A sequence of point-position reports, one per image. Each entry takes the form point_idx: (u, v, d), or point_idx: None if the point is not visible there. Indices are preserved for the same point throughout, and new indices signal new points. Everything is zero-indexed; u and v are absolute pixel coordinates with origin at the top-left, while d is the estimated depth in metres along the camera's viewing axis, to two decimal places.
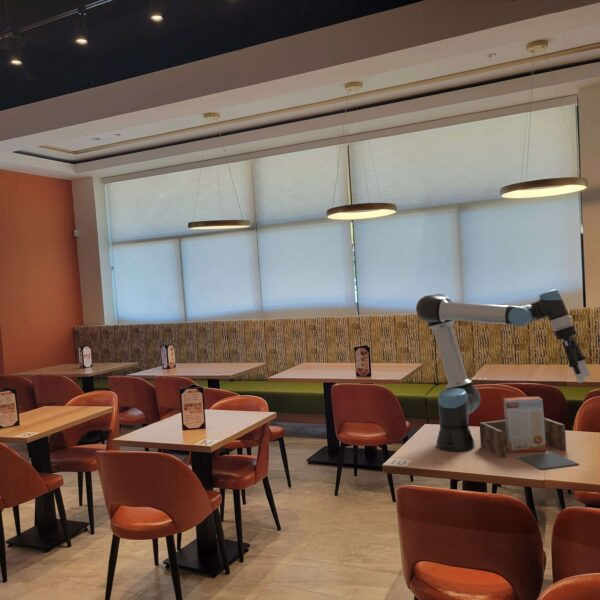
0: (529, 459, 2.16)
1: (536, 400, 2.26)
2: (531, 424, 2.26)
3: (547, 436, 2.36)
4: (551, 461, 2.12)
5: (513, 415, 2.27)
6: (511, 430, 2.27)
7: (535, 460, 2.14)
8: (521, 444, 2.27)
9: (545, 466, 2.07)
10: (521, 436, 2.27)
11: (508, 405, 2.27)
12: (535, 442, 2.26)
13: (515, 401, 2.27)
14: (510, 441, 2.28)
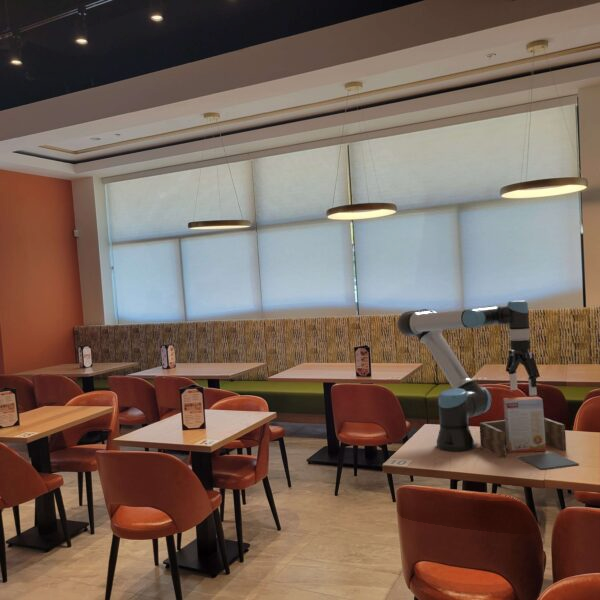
0: (529, 459, 2.16)
1: (536, 400, 2.26)
2: (531, 424, 2.26)
3: (547, 436, 2.36)
4: (551, 461, 2.12)
5: (513, 415, 2.27)
6: (511, 430, 2.27)
7: (535, 460, 2.14)
8: (521, 444, 2.27)
9: (545, 466, 2.07)
10: (521, 436, 2.27)
11: (508, 405, 2.27)
12: (535, 442, 2.26)
13: (515, 401, 2.27)
14: (510, 441, 2.28)
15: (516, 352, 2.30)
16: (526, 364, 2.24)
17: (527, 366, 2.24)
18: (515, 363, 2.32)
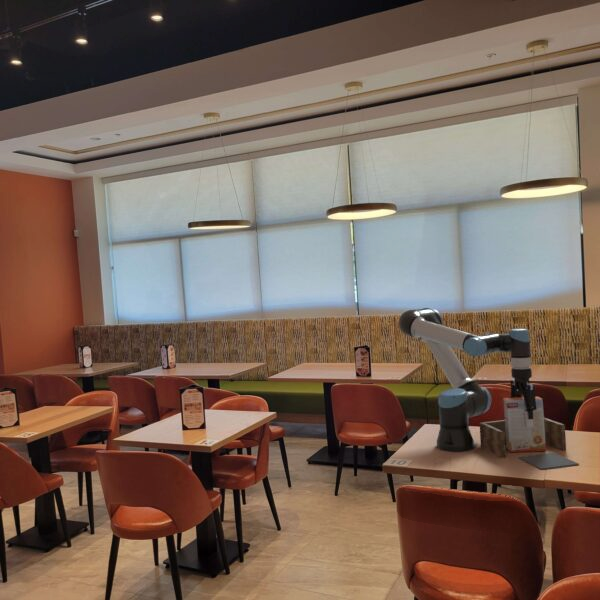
0: (529, 459, 2.16)
1: (536, 400, 2.26)
2: None
3: (547, 436, 2.36)
4: (551, 461, 2.12)
5: (513, 415, 2.27)
6: (511, 430, 2.27)
7: (535, 460, 2.14)
8: (521, 444, 2.27)
9: (545, 466, 2.07)
10: (520, 436, 2.27)
11: (508, 405, 2.27)
12: (535, 442, 2.26)
13: (515, 400, 2.27)
14: (510, 441, 2.28)
15: (517, 379, 2.31)
16: (525, 395, 2.26)
17: (526, 397, 2.26)
18: (518, 393, 2.31)
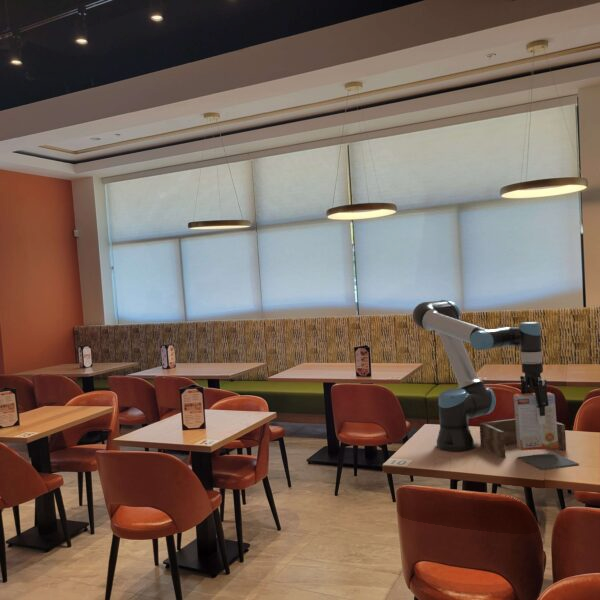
0: (529, 459, 2.16)
1: (548, 396, 2.18)
2: None
3: None
4: (551, 461, 2.12)
5: (524, 411, 2.19)
6: (522, 427, 2.19)
7: (535, 460, 2.14)
8: (533, 442, 2.18)
9: (545, 466, 2.07)
10: (532, 434, 2.18)
11: (519, 401, 2.19)
12: (547, 440, 2.18)
13: (526, 397, 2.18)
14: (521, 439, 2.19)
15: (527, 374, 2.22)
16: (537, 391, 2.17)
17: (537, 393, 2.17)
18: (529, 389, 2.23)
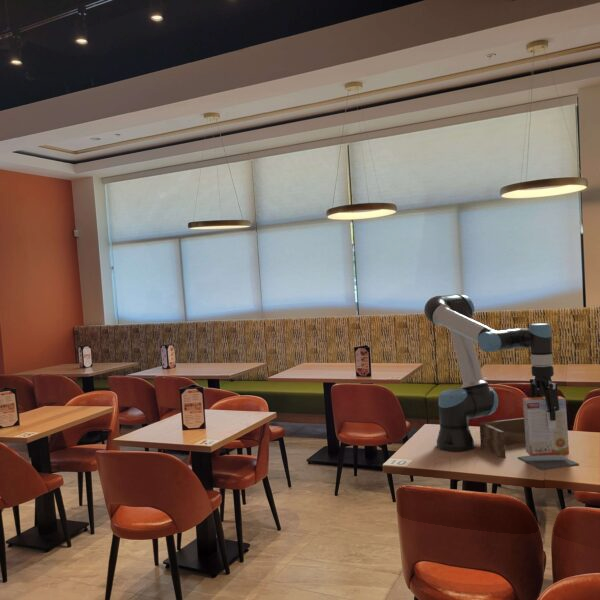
0: (529, 459, 2.16)
1: (559, 400, 2.10)
2: None
3: None
4: (551, 461, 2.12)
5: (534, 416, 2.11)
6: (532, 432, 2.12)
7: (535, 460, 2.14)
8: (543, 448, 2.11)
9: (545, 466, 2.07)
10: (542, 439, 2.11)
11: (528, 405, 2.11)
12: (558, 445, 2.11)
13: (536, 401, 2.11)
14: (530, 444, 2.12)
15: (537, 377, 2.15)
16: (547, 394, 2.10)
17: (548, 397, 2.10)
18: (539, 392, 2.16)
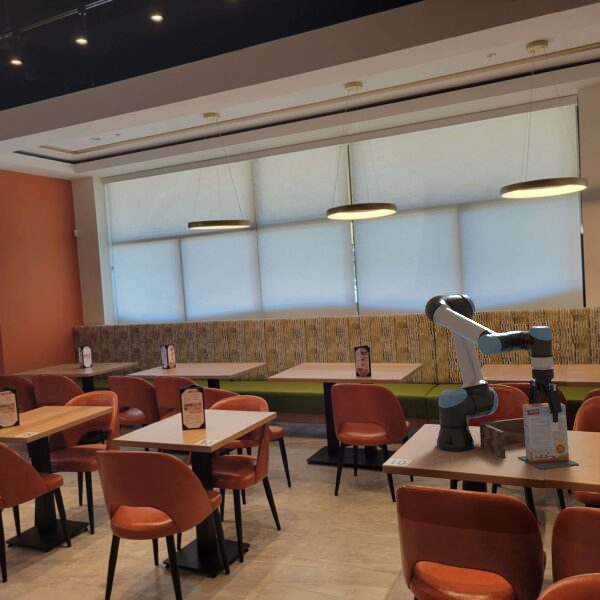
0: None
1: None
2: (553, 432, 2.11)
3: None
4: None
5: (534, 422, 2.11)
6: (532, 438, 2.12)
7: None
8: (543, 454, 2.11)
9: (545, 466, 2.07)
10: (542, 445, 2.11)
11: (529, 412, 2.12)
12: (558, 452, 2.11)
13: (536, 407, 2.11)
14: (531, 451, 2.12)
15: (538, 380, 2.15)
16: (548, 396, 2.09)
17: (549, 399, 2.09)
18: (538, 394, 2.16)
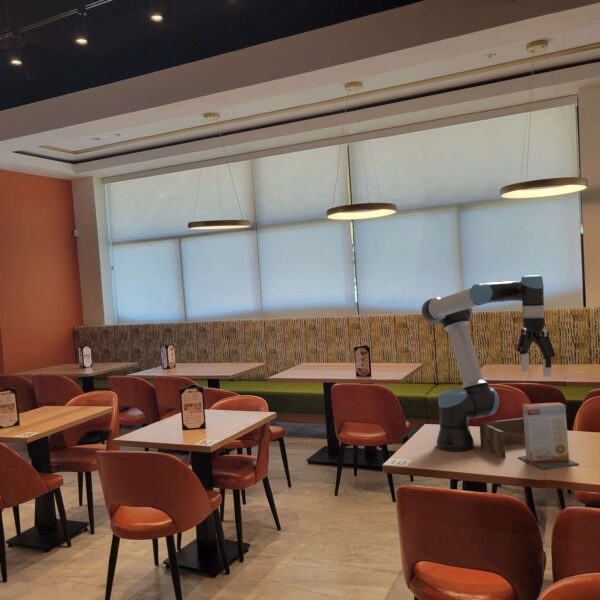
0: None
1: (559, 406, 2.11)
2: (553, 432, 2.11)
3: None
4: None
5: (535, 422, 2.11)
6: (532, 439, 2.12)
7: None
8: (543, 454, 2.11)
9: (545, 466, 2.07)
10: (542, 446, 2.11)
11: (529, 412, 2.11)
12: (558, 452, 2.11)
13: (536, 407, 2.11)
14: (531, 451, 2.12)
15: (529, 330, 2.15)
16: (540, 343, 2.09)
17: (541, 345, 2.09)
18: (527, 342, 2.17)
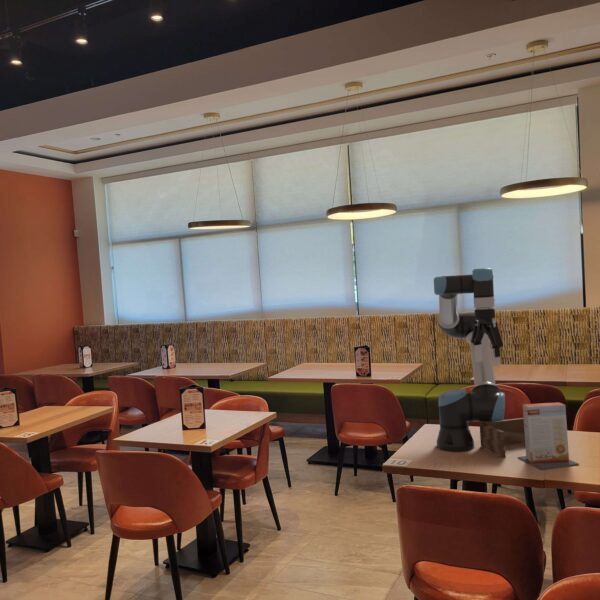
0: None
1: (559, 406, 2.11)
2: (553, 432, 2.11)
3: None
4: None
5: (535, 422, 2.11)
6: (532, 439, 2.12)
7: None
8: (543, 454, 2.11)
9: (545, 466, 2.07)
10: (542, 446, 2.11)
11: (529, 412, 2.11)
12: (558, 452, 2.11)
13: (536, 407, 2.11)
14: (531, 451, 2.12)
15: (480, 322, 2.22)
16: (490, 333, 2.16)
17: (491, 335, 2.16)
18: (480, 333, 2.24)
